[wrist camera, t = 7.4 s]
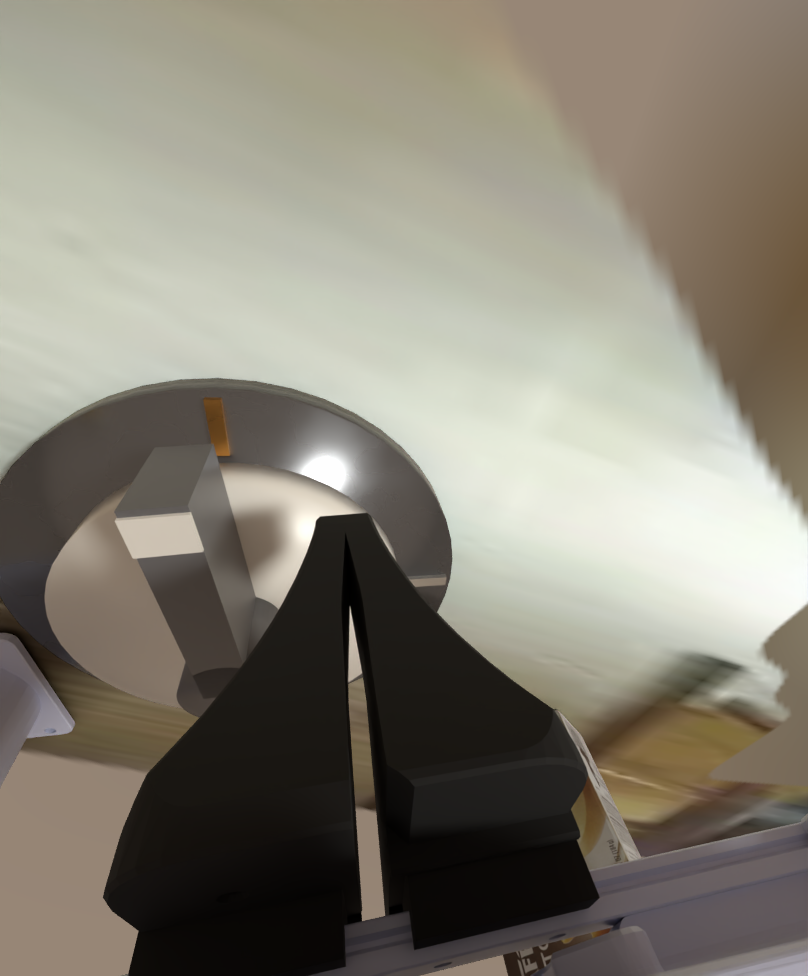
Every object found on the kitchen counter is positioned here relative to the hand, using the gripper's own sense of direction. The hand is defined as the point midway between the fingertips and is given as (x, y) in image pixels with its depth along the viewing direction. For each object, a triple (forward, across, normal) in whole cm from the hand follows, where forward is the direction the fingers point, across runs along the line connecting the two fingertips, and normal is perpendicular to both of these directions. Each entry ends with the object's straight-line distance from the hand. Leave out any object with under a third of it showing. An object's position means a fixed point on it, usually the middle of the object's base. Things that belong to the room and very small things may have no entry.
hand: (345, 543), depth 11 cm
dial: (+5, +4, +6) cm, 8 cm away
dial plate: (+6, +4, +6) cm, 10 cm away
